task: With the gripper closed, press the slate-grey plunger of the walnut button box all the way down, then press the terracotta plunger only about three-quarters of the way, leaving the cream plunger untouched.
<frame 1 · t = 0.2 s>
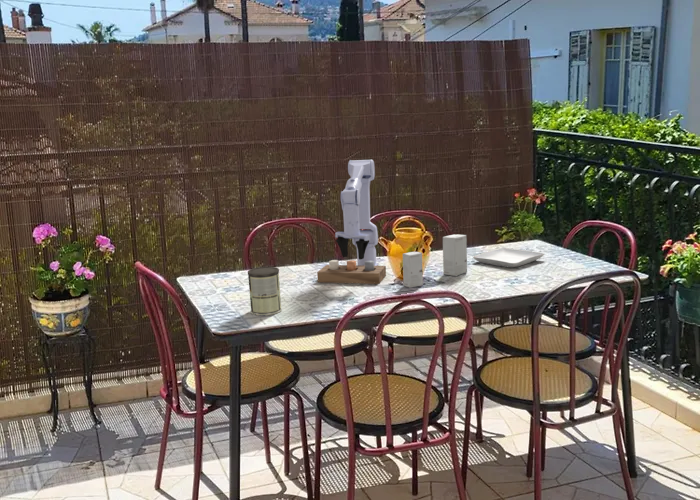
hand: (353, 257, 268), 10 cm above the table, tool pointing down, fingers open, 7 cm apart
skincare box 2: (413, 285, 264), on the table
coffee can: (266, 311, 240), on the table
terracotta plunger: (351, 266, 276), point 5 cm above the table, slide at 0.0 cm
skincare box: (455, 273, 278), on the table
salad plate: (508, 263, 293), on the table
cream plunger: (334, 266, 278), point 5 cm above the table, slide at 0.0 cm
walnut button box: (352, 279, 277), on the table
slate plunger: (369, 267, 274), point 5 cm above the table, slide at 0.0 cm
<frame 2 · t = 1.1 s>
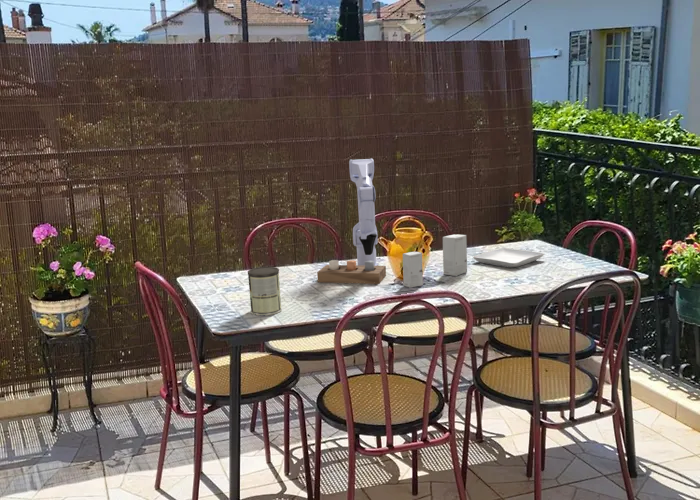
hand: (368, 254, 273), 10 cm above the table, tool pointing down, fingers closed
nothing on the table moved.
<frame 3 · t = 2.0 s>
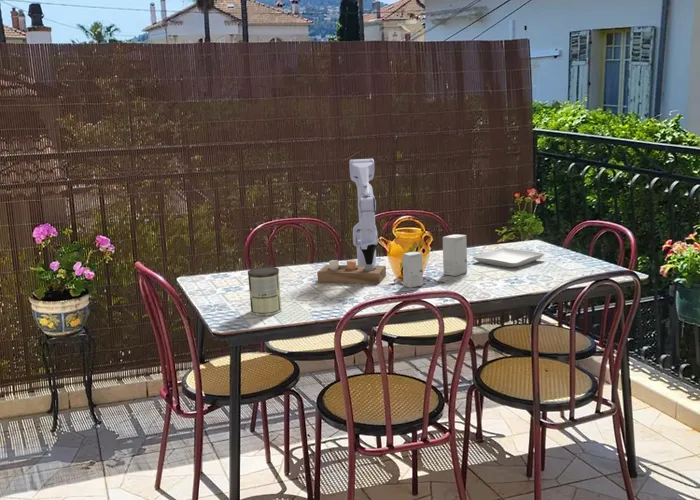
hand: (369, 264, 274), 6 cm above the table, tool pointing down, fingers closed, pressing on slate plunger
slate plunger: (369, 269, 274), point 4 cm above the table, slide at 0.9 cm, touching gripper
everything else where it was.
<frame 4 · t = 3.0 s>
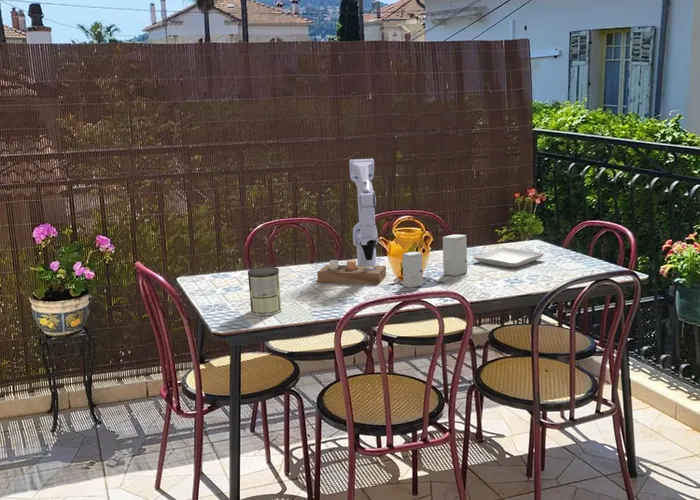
hand: (369, 259, 273), 8 cm above the table, tool pointing down, fingers closed
slate plunger: (369, 273, 274), point 2 cm above the table, slide at 2.4 cm
everything else where it was.
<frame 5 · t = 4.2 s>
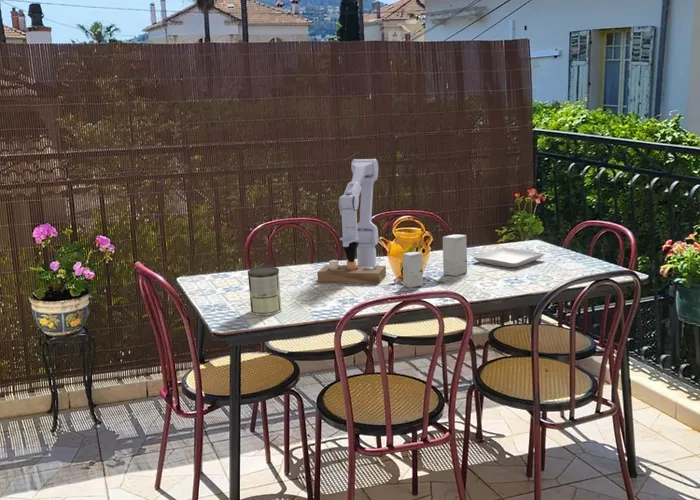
hand: (351, 261, 275), 7 cm above the table, tool pointing down, fingers closed, pressing on terracotta plunger
terracotta plunger: (351, 267, 276), point 5 cm above the table, slide at 0.0 cm, touching gripper
everything else where it was.
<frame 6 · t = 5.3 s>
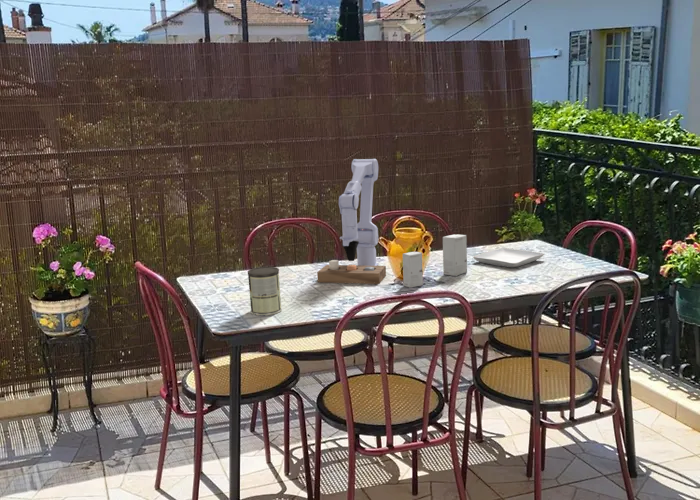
hand: (351, 260, 275), 7 cm above the table, tool pointing down, fingers closed
terracotta plunger: (351, 271, 276), point 3 cm above the table, slide at 1.7 cm
everything else where it was.
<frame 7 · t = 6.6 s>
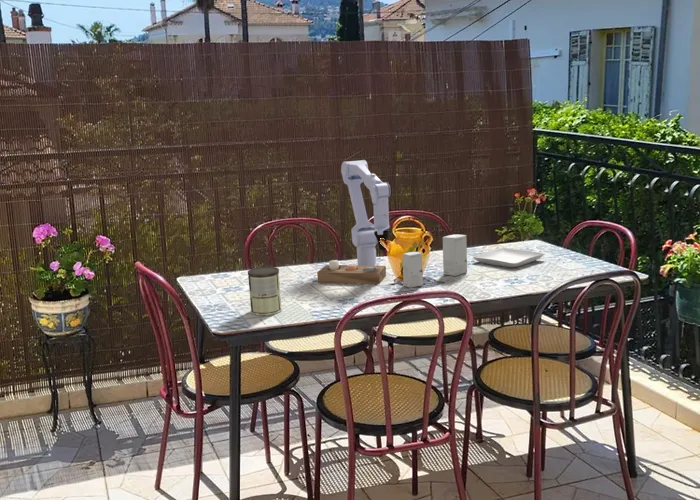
hand: (382, 249, 277), 10 cm above the table, tool pointing down, fingers closed
nothing on the table moved.
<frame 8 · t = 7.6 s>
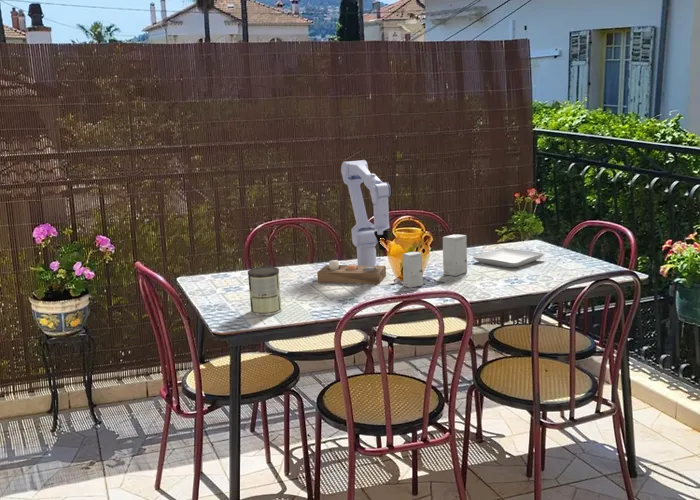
hand: (382, 249, 277), 10 cm above the table, tool pointing down, fingers closed
nothing on the table moved.
at the end: slate plunger slide at 2.4 cm; terracotta plunger slide at 1.7 cm; cream plunger slide at 0.0 cm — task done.
